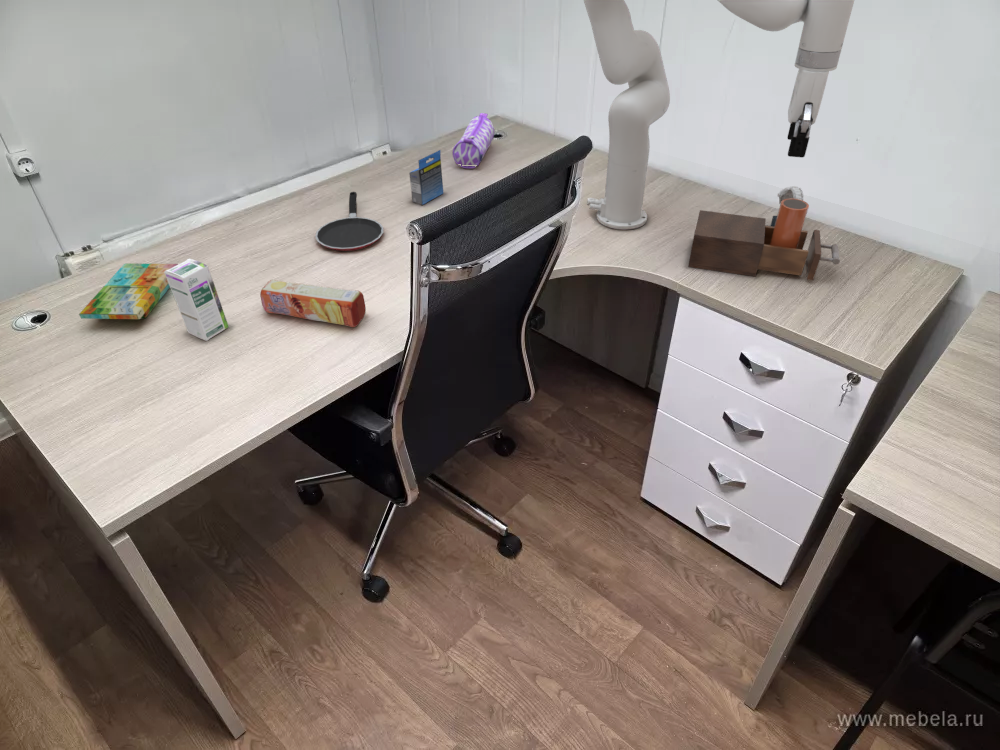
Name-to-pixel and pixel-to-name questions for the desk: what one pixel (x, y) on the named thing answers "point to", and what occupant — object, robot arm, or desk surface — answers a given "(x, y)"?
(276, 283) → the snack package
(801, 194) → the watch
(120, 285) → the puzzle game
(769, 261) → the drawer
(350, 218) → the frying pan
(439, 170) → the tape cartridge
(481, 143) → the pencil case
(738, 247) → the cabinet
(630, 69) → the robot arm
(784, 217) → the pencil cup
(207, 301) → the syrup box
